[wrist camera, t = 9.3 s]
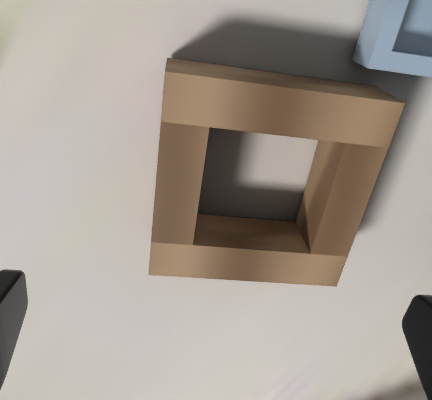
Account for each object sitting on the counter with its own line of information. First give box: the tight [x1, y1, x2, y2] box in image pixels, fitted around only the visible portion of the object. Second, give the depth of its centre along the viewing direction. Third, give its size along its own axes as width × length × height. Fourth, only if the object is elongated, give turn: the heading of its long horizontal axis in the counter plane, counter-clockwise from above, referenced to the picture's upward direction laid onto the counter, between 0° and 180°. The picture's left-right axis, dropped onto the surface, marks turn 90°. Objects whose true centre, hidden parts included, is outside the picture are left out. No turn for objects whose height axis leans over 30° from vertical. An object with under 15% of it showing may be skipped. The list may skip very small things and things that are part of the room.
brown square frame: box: [149, 58, 405, 286], centre depth 20 cm, size 10×10×3 cm
